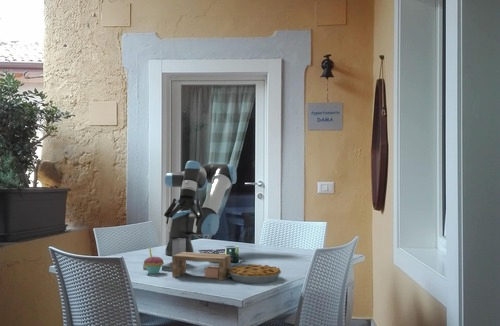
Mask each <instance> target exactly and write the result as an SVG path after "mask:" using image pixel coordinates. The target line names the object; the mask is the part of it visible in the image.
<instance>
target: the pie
mask: <svg viewBox="0 0 500 326" xmlns="http://www.w3.org/2000/svg"><path fill="white" fill-rule="evenodd" d="M229 273H230V277H231V279H232V280H233V281H235V282H239V283H244V284H245V283H246V284H265V283H266V284H267V283H272V282H275V281H277V280H278V278H279V276H280V274H282V270H281V268H279V267H277V266H275V265H274V266H270V265H268V264H265V265H262V264H248V265H242V264H241V265H239V266H236V265H234V266H233V267H231V268H230V271H229Z"/></svg>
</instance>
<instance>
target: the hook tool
mask: <svg viewBox="0 0 500 326" xmlns="http://www.w3.org/2000/svg"><path fill="white" fill-rule="evenodd" d="M182 252H186V238H178V239H175V240H172V256H171V257H172V259H171V262H169V263H166V264H163V265H162V266H161V271H164V272H165V271H167V272H168V271H169V272H172V268H173V255H176V254H179V253H182Z"/></svg>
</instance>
